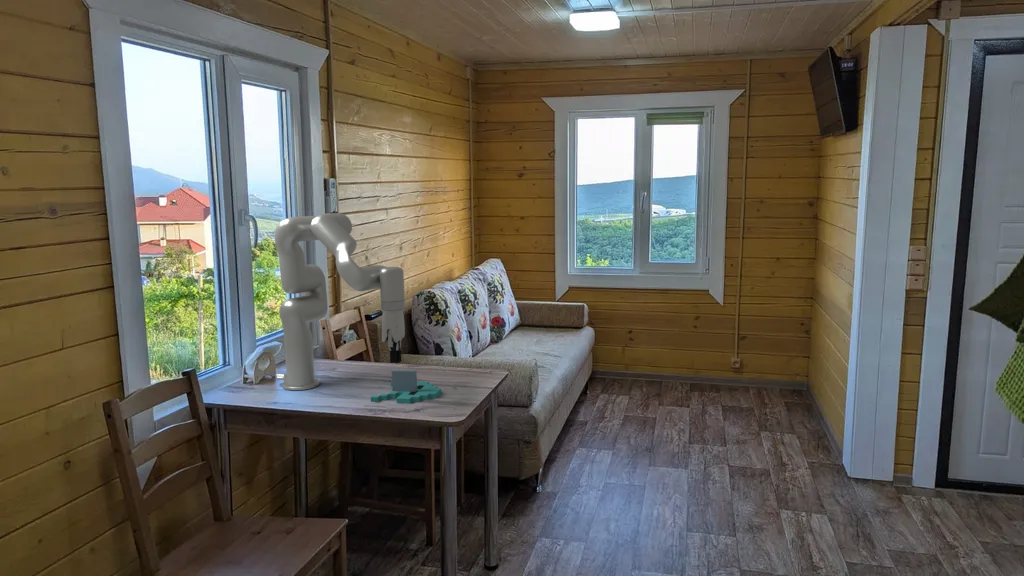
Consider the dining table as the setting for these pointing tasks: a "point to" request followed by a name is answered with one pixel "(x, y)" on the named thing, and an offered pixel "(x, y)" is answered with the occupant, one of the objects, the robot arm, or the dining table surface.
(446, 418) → the dining table surface
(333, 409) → the dining table surface
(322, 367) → the dining table surface
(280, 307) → the robot arm
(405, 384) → the grey flat block
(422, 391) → the alien figure
